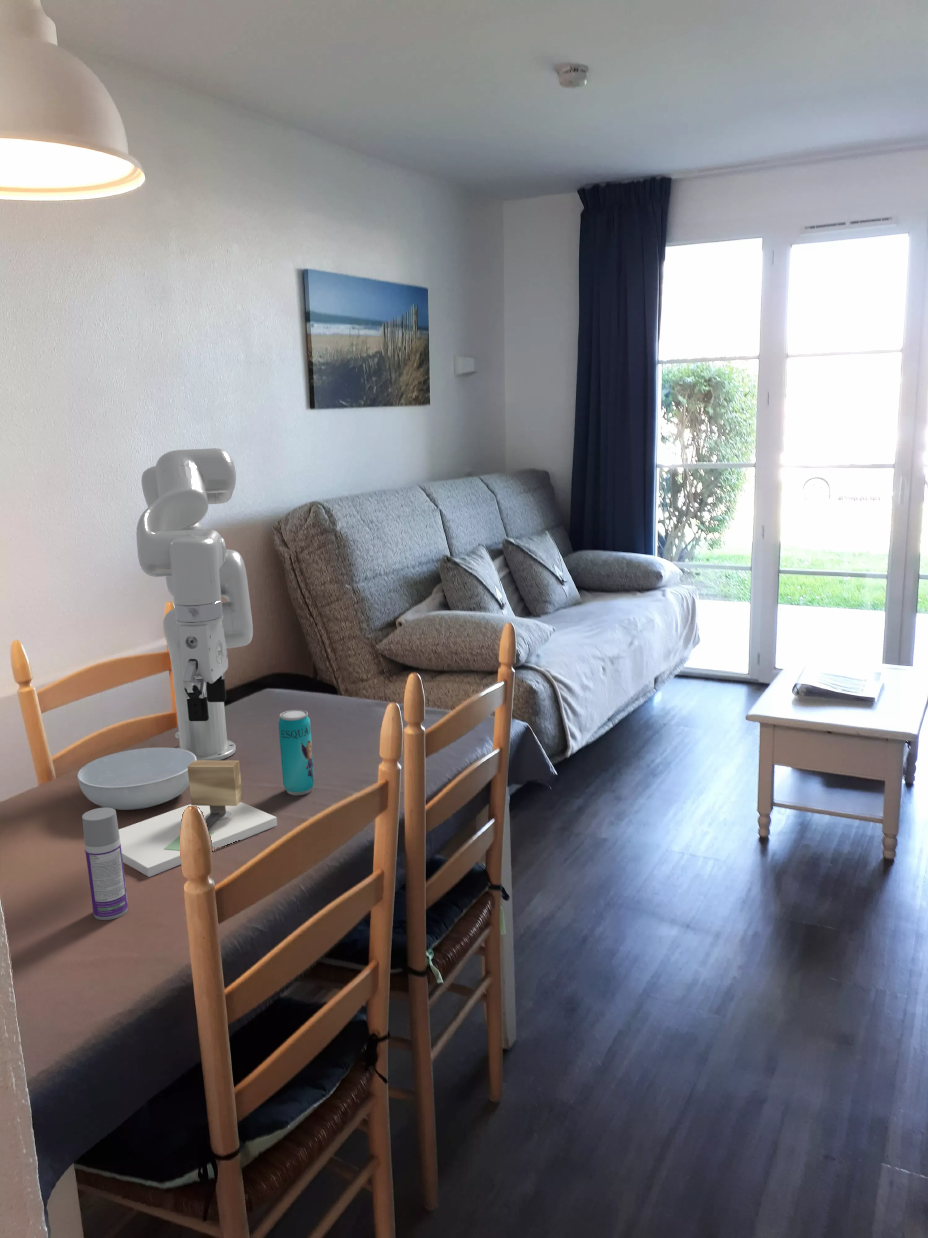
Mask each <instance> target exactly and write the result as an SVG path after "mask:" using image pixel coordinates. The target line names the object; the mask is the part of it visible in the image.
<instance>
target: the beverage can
mask: <svg viewBox="0 0 928 1238" xmlns="http://www.w3.org/2000/svg"><path fill="white" fill-rule="evenodd" d="M308 715H309V712H308V711H307V710H304V709H292V710H291V709H290V710H286V711H283V712H281V713H280V714H279V721H278V723H277V725H278V735H279V749H280V761H281V774H282V784H283V786H284V789H285V791H286V793H287V794H289V795H291V796H303V795H306V794H309V793H310V792H311V791H312V790H313V786H314V784H315V770H314V757H313V743H312V742H313V741H312V731H311V730H312V728H311V719H310V717H309V716H308Z"/></svg>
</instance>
